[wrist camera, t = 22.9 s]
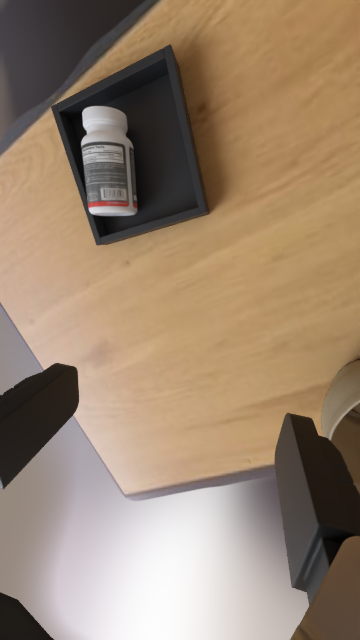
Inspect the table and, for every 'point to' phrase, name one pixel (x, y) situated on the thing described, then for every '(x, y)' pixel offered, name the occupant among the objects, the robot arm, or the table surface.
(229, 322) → the table surface
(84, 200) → the tray
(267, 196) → the table surface
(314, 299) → the table surface
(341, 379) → the planter bowl
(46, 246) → the table surface
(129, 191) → the pill bottle
